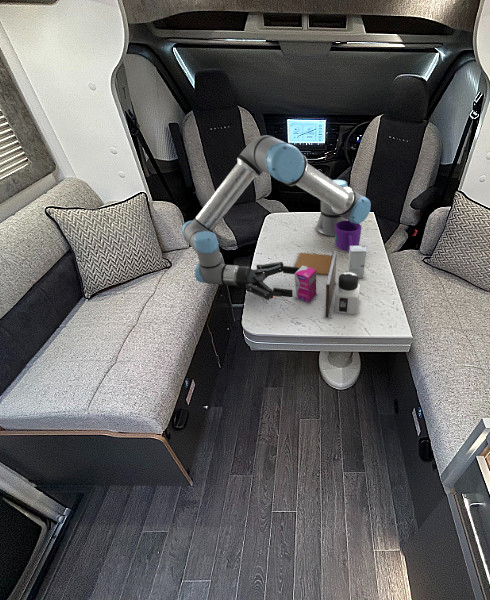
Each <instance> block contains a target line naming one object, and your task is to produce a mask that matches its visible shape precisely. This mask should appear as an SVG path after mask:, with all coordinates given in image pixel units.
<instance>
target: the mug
mask: <svg viewBox="0 0 490 600" xmlns="http://www.w3.org/2000/svg"><path fill="white" fill-rule="evenodd" d="M361 235H362V225H361V223H360V224H354V223H351V222H350V221H348V220H346V221H340V222H338V223H337V224H336V225H335V236H334V243H335V244H334V245H335V247H336V248H337V249H338V250H341V251H344V252H347V254H349V250H350V246H360V242H361Z"/></svg>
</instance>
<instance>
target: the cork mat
mask: <svg viewBox="0 0 490 600" xmlns="http://www.w3.org/2000/svg"><path fill="white" fill-rule="evenodd" d="M332 258H333V255H331V254H319V253H309V252H299V255H298V257H297V260H296V263H295V266H294V267H299V268H301V266H302V265H303V266H306V267H309V268H312V269H316V275H321V276H322V275H323V276H328V275H329V271H330V266H331V262H332Z"/></svg>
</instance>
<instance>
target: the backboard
mask: <svg viewBox="0 0 490 600" xmlns="http://www.w3.org/2000/svg"><path fill="white" fill-rule="evenodd" d="M337 254H338V253H337V251H333V254H332V260H331V264H330V268H329V273H328V275H327V280H326V283H325V314H324V316H325V318H326V319H328V318H329V316H330V311H331V307H332V301H333V297H334V291H335V288H336V287H335V286H336V275H337Z"/></svg>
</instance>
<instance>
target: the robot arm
mask: <svg viewBox="0 0 490 600" xmlns="http://www.w3.org/2000/svg"><path fill="white" fill-rule="evenodd" d="M236 161H237V163H236V164H235V165H234V167H233V168H232V169H231V171H230V172H229V173H228V175H226V177H225V178H224V180H223V181H222V183H221V184H220V185H219V186H218V187H217V189H216V190H215V191H214V193H213V194H212V195H211V197H210V198H209V199H208V201H207V202H206V203H205V205H204V206H203V207H202V209H201V210H200V211H199V212H198V213H197V215H196V216H195V218H194V219H193V220H188V221H186V222H184V223H183V225H182V226H181V234H182V236H183V239H184V240H185V241H186V242H187V243H188V244H189V245H190V247H191V249H193V251H194V252H195V254H196V255H197V259H198V263H197V264H196V266H195V268H194V277H195V280H196V281H197V282H199V283H203V284H207V285H220V286H221V285H223V286H230V287H231V286H232V287H239V288H245V290H246V292H248V293H251V294H254V295H256V296H258V297H260V298H263V300H266V301H269V300H270V299H271V300H272V299H274V297H278V298H279V297H280V298H281V297H284V298H293V297H294V296H293V289H288V288H278V287H273V288H271V287H270V286H268V285H267V284H266V283H265V282H264V281H265V280H266V279H268V277H270V276H274V275H276V274H280V273H283V274H289V275H295V273H296V272H297V271H298V270H299V269H300V268H299V267H295V266H290V265H284V262H283V261H278V262H272V263H264V264H256V269H252V268H251V267H250V266H246V265H240V266H239V265H238V264H237V265H235V264H224V263H223V262H222V256H221V252H220V245H219V241H218V238H217V235H216V234H215V232H213V231H214V230H215V228H216V227H217V226H218V225H219V223H220V222H221V221H222V219H224V217H225V216H226V215H227V213H228V212H229V211H230V210H231V208H232V207H233V206H234V204H235V203H236V202H237V201H238V199H239V198H240V197H241V195H242V194H243V193H244V192H245V190H246V189H247V188H248V187H249V185H250V184H251V183H252V181H253V180H254V179H255V178H259V177H260V176H261V175H262V174H263V173H266V174H267V175H269V176H271V177H272V178H273V179H275V180H277V181H278V182H281V183H283V184H285V185H286V186H289V187H293V186H297V187H298V188H300V189H302V190H303V191H305V192H307V193H309V194H310V195H312V196H313V197H316V199H318V200H320V214H319V218H318V220H317V223H316V231H317V232H318V233H319V234H320V235H322V236H326V237H335V225H336V224H337V223H338V222H340V221H346V220H348V221H350V222H351V223H354V224H360V225H361V223H363V222H364V221H365V220H366V219H367V218H368V216H369V215H370V212H371V210H372V209H371V206H372V205H371V200H370V199H369V198H367V197H366V196H364V195H361V194H360V193H359V192H357V191H356V190H354V189H353V188H351V187H350V186H348V182H347V181H346V180H343V179H332V178H330V177H328V176H327V175H326V174H324V173H323V172H321V171H320V170H318V169H316V168H315V167H314V166H312V165H311V164H310V163H308V159H307V157H306V155H304V154H303V153H302V152H301V151H300V149H299V148H298V147H296V146H295V145H293V144H292V143H289V142H285V141H283V140H281V139H278V138H276V137H275V136H272V135H260V136H258V137H256V138H255V139H253V140H252V141H251V142H250V143H249V144H247V145H246V147H244V149H243V150H242V151H241V153H240V154H239V155H238V156H237V158H236Z"/></svg>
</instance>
